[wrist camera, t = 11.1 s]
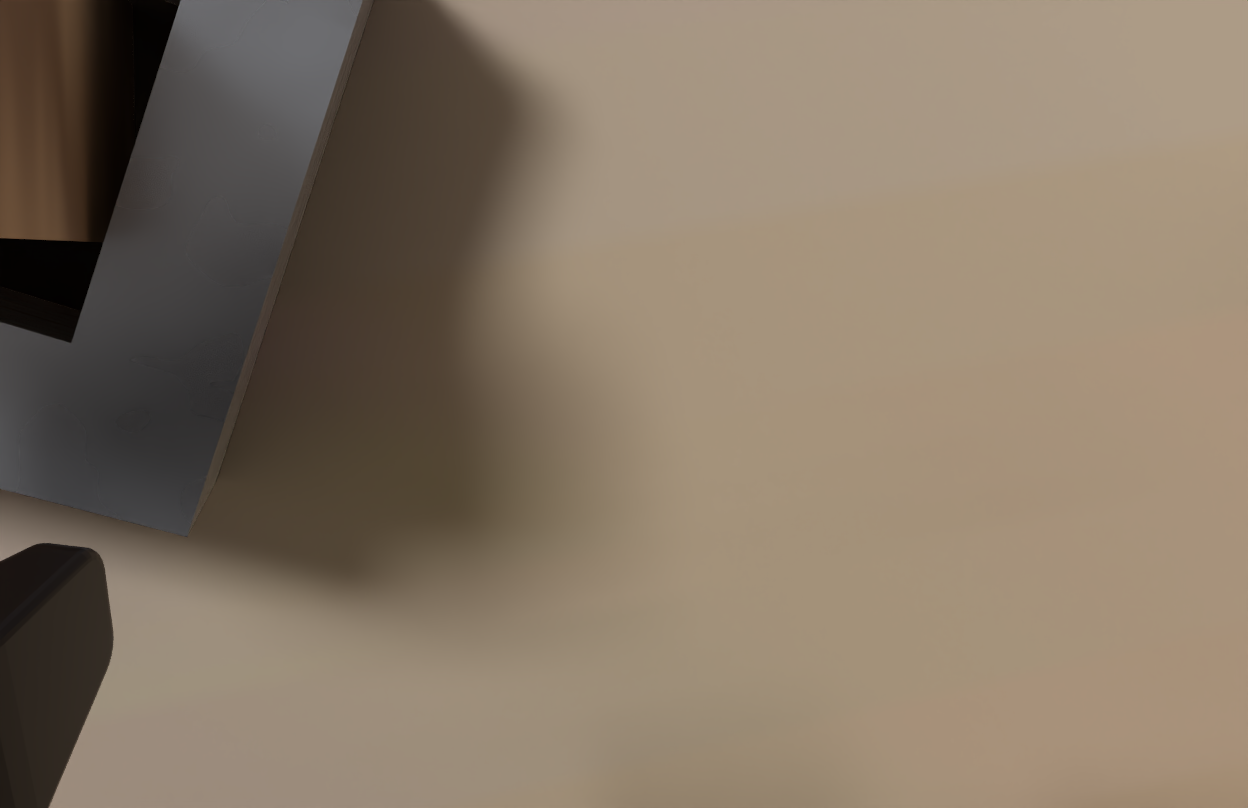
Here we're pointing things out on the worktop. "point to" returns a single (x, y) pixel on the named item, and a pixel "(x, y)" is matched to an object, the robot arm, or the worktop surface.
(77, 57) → the brown tall square block
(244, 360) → the well block
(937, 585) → the worktop surface
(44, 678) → the robot arm
